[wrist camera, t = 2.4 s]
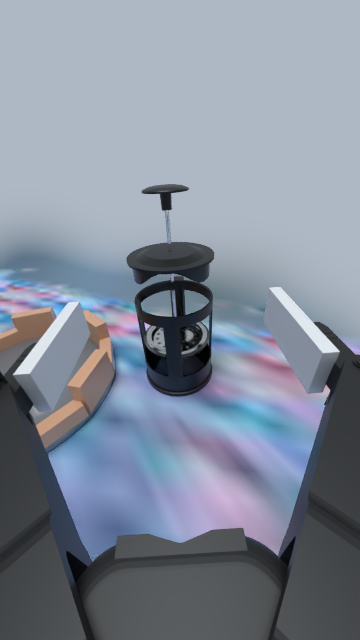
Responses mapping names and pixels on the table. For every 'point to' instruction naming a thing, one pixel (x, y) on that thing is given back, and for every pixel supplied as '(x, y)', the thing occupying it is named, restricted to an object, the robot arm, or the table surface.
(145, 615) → the robot arm
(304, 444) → the table surface
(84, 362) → the castellated ring
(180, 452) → the table surface
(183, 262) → the french press
